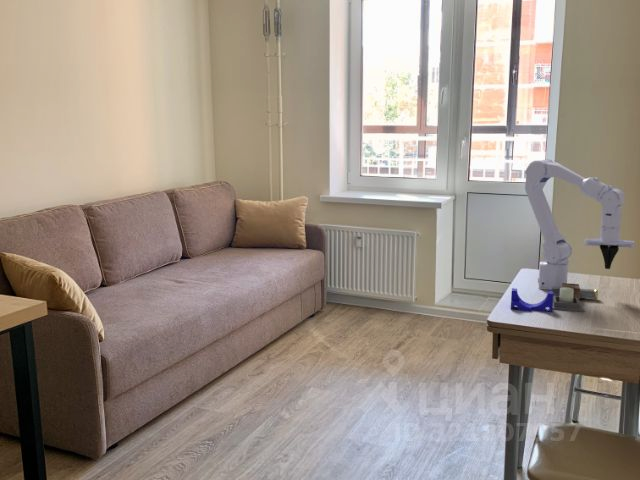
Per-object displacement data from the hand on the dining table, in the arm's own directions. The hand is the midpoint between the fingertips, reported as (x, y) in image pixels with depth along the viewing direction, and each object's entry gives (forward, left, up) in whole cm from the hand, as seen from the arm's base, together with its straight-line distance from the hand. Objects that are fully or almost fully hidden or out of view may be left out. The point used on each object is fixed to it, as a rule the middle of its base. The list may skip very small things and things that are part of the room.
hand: (607, 268), depth 217 cm
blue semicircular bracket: (-23, -22, -10) cm, 34 cm away
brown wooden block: (-11, -5, -9) cm, 15 cm away
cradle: (-13, -15, -9) cm, 22 cm away
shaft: (-10, -5, -9) cm, 15 cm away
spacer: (-13, -15, -9) cm, 22 cm away
